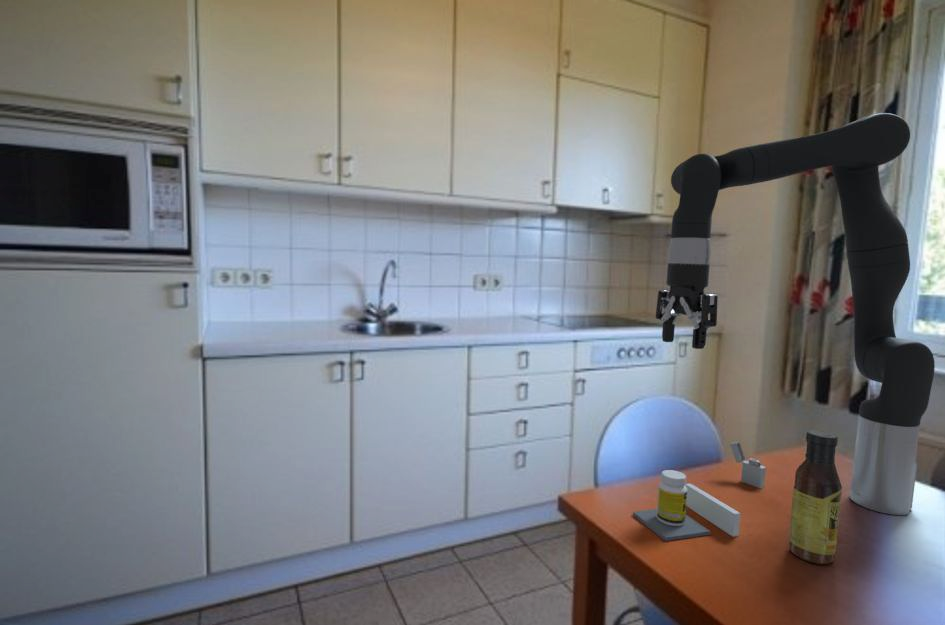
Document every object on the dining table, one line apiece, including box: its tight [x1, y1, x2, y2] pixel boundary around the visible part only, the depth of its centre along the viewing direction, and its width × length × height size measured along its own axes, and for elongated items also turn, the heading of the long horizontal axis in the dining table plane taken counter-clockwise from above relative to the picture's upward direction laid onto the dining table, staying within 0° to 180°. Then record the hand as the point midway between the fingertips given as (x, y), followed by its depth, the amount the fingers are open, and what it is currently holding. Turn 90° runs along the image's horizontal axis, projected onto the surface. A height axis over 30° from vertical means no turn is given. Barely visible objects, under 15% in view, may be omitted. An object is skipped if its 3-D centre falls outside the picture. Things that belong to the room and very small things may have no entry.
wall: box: [685, 483, 741, 538], centre depth 91 cm, size 1×12×4 cm, turn 17°
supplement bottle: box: [656, 469, 687, 526], centre depth 88 cm, size 5×5×8 cm
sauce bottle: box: [788, 429, 843, 565], centre depth 79 cm, size 7×6×20 cm
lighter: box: [729, 441, 767, 489], centre depth 108 cm, size 7×2×8 cm, turn 36°
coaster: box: [632, 508, 711, 542], centre depth 88 cm, size 9×9×1 cm
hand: (682, 345), depth 99 cm, fingers open, 8 cm apart
